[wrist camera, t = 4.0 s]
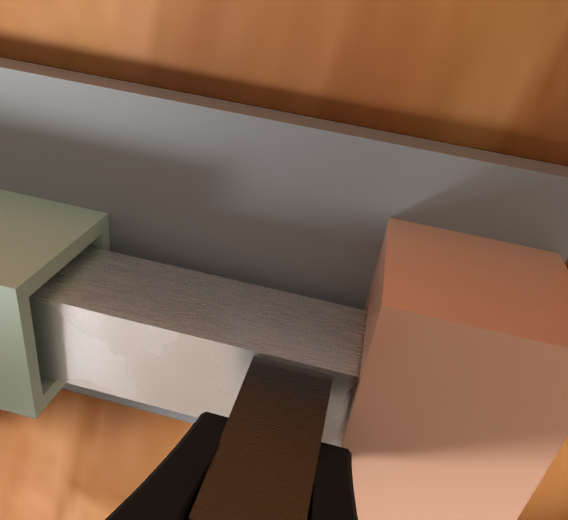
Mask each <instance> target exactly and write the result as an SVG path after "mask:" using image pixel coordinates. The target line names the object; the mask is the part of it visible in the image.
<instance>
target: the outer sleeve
mask: <svg viewBox="0 0 568 520" xmlns="http://www.w3.org/2000/svg"><path fill="white" fill-rule="evenodd" d="M87 246H90V247H95V248H99V249H103V250H108V251H110V242H109V219H108V213H104V212H100V211H95V210H91V209H86V208H82V207H78V206H73V205H69V204H64V203H60V202H55V201H51V200H46V199H42V198H37V197H33V196H28V195H24V194H19V193H15V192H11V191H6V190H2V189H0V409H1V410H5V411H8V412H12V413H16V414H19V415H23V416H27V417H30V418H34V419H37V418H38V416H39V415H40V414H41V413H42V412H43V410H44V409H45V408H46V407H47V406H48V404H49V403H50V402H51V401H52V399H53V398H54V397H55V396H56V395H57V393H58V392H59V391H60V390H61V389H62V387H63V386H64V385H65V384H66V383H65V382H61V381H58V380H54V379H50V378H46V377H43V376H40V372H39V365H38V358H37V351H36V344H35V337H34V330H33V323H32V316H31V309H30V302H29V297H30V296H31V295H32V294H33V293H34V292H35V291H36V290H38V289H39V288H40V287H41V286H42V285H43V284H45V283H46V282H47V281H48V280H49V279H50V278H51V277H53V276H54V275H55V274H56V273H57V272H58V271H60V270H61V269H62V268H63V267H64V266H65V265H66V264H68V263H69V262H70V261H71V260H72V259H73V258H75V257H76V256H77V255H78V254H79V253H80V252H81V251H83V250H84V249H85V248H86V247H87Z"/></svg>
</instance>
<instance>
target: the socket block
mask: <svg viewBox="0 0 568 520" xmlns="http://www.w3.org/2000/svg"><path fill="white" fill-rule="evenodd" d="M365 310H366V311H367V319H366V328H365V336H364V344H363V352H362V360H361V368H360V377H359V381H358V385H357V389H356V392H355V396H354V399H353V403H352V406H351V410H350V413H349V417H348V420H347V424H346V428H345V431H344V435H343V438H342V442H341V445H340V447H343V448H346V449H348V450H349V451H350V452H351V454H352V476H353V487H354V495H355V502H356V509H357V516H358V520H517V519H518V517H519V515H520V514H521V512H522V510H523V509H524V507H525V505H526V504H527V502H528V500H529V499H530V497H531V496H532V494H533V492H534V491H535V489H536V487H537V486H538V484H539V482H540V481H541V479H542V477H543V476H544V474H545V472H546V471H547V469H548V468H549V466H550V464H551V463H552V461H553V459H554V458H555V456H556V454H557V453H558V451H559V449H560V448H561V446H562V444H563V443H564V441H565V440H566V438H567V436H568V269H567V267H566V265H565V263H564V261H563V259H562V257H561V255H560V254H559V253H555V252H551V251H546V250H541V249H536V248H532V247H527V246H522V245H517V244H513V243H508V242H503V241H498V240H494V239H489V238H484V237H480V236H475V235H470V234H465V233H461V232H456V231H451V230H446V229H442V228H437V227H432V226H427V225H423V224H418V223H413V222H408V221H404V220H399V219H394V218H389V219H388V223H387V226H386V230H385V234H384V238H383V242H382V245H381V249H380V253H379V257H378V261H377V264H376V268H375V272H374V276H373V279H372V283H371V287H370V291H369V295H368V298H367V302H366V306H365Z"/></svg>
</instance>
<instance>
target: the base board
mask: <svg viewBox="0 0 568 520" xmlns="http://www.w3.org/2000/svg"><path fill="white" fill-rule="evenodd" d="M0 189H2V190H6V191H11V192H15V193H19V194H24V195H28V196H33V197H37V198H42V199H46V200H51V201H55V202H60V203H64V204H69V205H73V206H78V207H82V208H86V209H91V210H95V211H100V212H104V213H108V219H109V242H110V251H112V252H116V253H121V254H125V255H129V256H133V257H138V258H142V259H146V260H151V261H155V262H159V263H164V264H168V265H172V266H176V267H181V268H185V269H189V270H194V271H198V272H202V273H207V274H211V275H215V276H220V277H224V278H228V279H232V280H237V281H241V282H245V283H250V284H254V285H258V286H263V287H267V288H271V289H276V290H280V291H284V292H288V293H293V294H297V295H301V296H306V297H310V298H314V299H319V300H323V301H327V302H331V303H336V304H340V305H344V306H349V307H353V308H357V309H362V310H365V306H366V302H367V298H368V295H369V291H370V287H371V283H372V279H373V276H374V272H375V268H376V264H377V261H378V257H379V253H380V249H381V245H382V242H383V238H384V234H385V230H386V226H387V223H388V219H389V218H394V219H399V220H404V221H408V222H413V223H418V224H423V225H427V226H432V227H437V228H442V229H446V230H451V231H456V232H461V233H465V234H470V235H475V236H480V237H484V238H489V239H494V240H498V241H503V242H508V243H513V244H517V245H522V246H527V247H532V248H536V249H541V250H546V251H551V252H555V253H559V254H560V255H561V257H562V259H563V261H564V263H566V261H567V259H568V166H563V165H558V164H552V163H547V162H542V161H537V160H532V159H527V158H521V157H516V156H511V155H506V154H501V153H495V152H490V151H485V150H480V149H475V148H469V147H464V146H459V145H454V144H449V143H444V142H438V141H433V140H428V139H423V138H418V137H412V136H407V135H402V134H397V133H392V132H386V131H381V130H376V129H371V128H366V127H360V126H355V125H350V124H345V123H340V122H335V121H329V120H324V119H319V118H314V117H309V116H303V115H298V114H293V113H288V112H283V111H277V110H272V109H267V108H262V107H257V106H252V105H246V104H241V103H236V102H231V101H226V100H220V99H215V98H210V97H205V96H200V95H194V94H189V93H184V92H179V91H174V90H168V89H163V88H158V87H153V86H148V85H143V84H137V83H132V82H127V81H122V80H117V79H111V78H106V77H101V76H96V75H91V74H85V73H80V72H75V71H70V70H65V69H60V68H54V67H49V66H44V65H39V64H34V63H28V62H23V61H18V60H13V59H8V58H2V57H0ZM62 389H66V390H70V391H73V392H77V393H81V394H85V395H88V396H92V397H96V398H100V399H103V400H107V401H111V402H115V403H118V404H122V405H126V406H130V407H133V408H137V409H141V410H145V411H148V412H152V413H156V414H160V415H163V416H167V417H171V418H175V419H178V420H182V421H186V422H190V423H193V424H194V423H195V422H196V420H197V419H198V418H197V417H193V416H190V415H186V414H182V413H178V412H175V411H171V410H167V409H163V408H159V407H156V406H152V405H148V404H144V403H141V402H137V401H133V400H129V399H125V398H122V397H118V396H114V395H110V394H107V393H103V392H99V391H95V390H92V389H88V388H84V387H80V386H76V385H73V384H69V383H66V384H65V385H64V386H63V387H62Z"/></svg>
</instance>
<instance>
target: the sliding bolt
mask: <svg viewBox="0 0 568 520" xmlns="http://www.w3.org/2000/svg"><path fill="white" fill-rule="evenodd" d="M29 302H30V309H31V316H32V323H33V330H34V337H35V344H36V351H37V358H38V365H39V372H40V376H43V377H46V378H50V379H54V380H58V381H61V382H65V383H69V384H73V385H76V386H80V387H84V388H88V389H92V390H95V391H99V392H103V393H107V394H110V395H114V396H118V397H122V398H125V399H129V400H133V401H137V402H141V403H144V404H148V405H152V406H156V407H159V408H163V409H167V410H171V411H175V412H178V413H182V414H186V415H190V416H193V417H197V418H198V417H199V416H200V415H201V414H202V413H204V412H210V413H214V414H217V415H221V416H225V417H229V418H228V420H227V423H226V425H225V428H224V430H223V433H222V435H221V438H220V440H219V442H220V444H219V447H218V449H217V451H216V453H215V454H214V456H213V458H212V460H211V463H210V465H209V468H208V470H207V473H206V475H205V478H204V480H203V483H202V485H201V488H200V490H199V493H198V495H197V498H196V500H195V503H194V505H193V508H192V510H191V513H190V515H189V518H188V520H307V515H308V510H309V505H310V499H311V494H312V488H313V483H314V478H315V471H316V467H317V462H318V456H319V451H320V446H321V442H324V443H327V444H331V445H335V446H339V447H340V445H341V442H342V438H343V435H344V431H345V428H346V424H347V420H348V417H349V413H350V410H351V406H352V403H353V399H354V396H355V392H356V389H357V385H358V381H359V377H360V368H361V360H362V352H363V344H364V336H365V328H366V319H367V311H366V310H362V309H357V308H353V307H349V306H344V305H340V304H336V303H331V302H327V301H323V300H319V299H314V298H310V297H306V296H301V295H297V294H293V293H288V292H284V291H280V290H276V289H271V288H267V287H263V286H258V285H254V284H250V283H245V282H241V281H237V280H232V279H228V278H224V277H220V276H215V275H211V274H207V273H202V272H198V271H194V270H189V269H185V268H181V267H176V266H172V265H168V264H164V263H159V262H155V261H151V260H146V259H142V258H138V257H133V256H129V255H125V254H121V253H116V252H112V251H108V250H103V249H99V248H95V247H90V246H87V247H86V248H85V249H84V250H83V251H81V252H80V253H79V254H78V255H77V256H76V257H75V258H73V259H72V260H71V261H70V262H69V263H68V264H66V265H65V266H64V267H63V268H62V269H61V270H60V271H58V272H57V273H56V274H55V275H54V276H53V277H51V278H50V279H49V280H48V281H47V282H46V283H45V284H43V285H42V286H41V287H40V288H39V289H38V290H36V291H35V292H34V293H33V294H32V295H31V296H30V297H29Z"/></svg>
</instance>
